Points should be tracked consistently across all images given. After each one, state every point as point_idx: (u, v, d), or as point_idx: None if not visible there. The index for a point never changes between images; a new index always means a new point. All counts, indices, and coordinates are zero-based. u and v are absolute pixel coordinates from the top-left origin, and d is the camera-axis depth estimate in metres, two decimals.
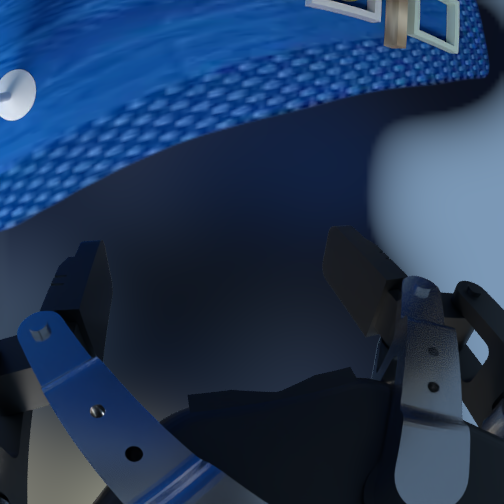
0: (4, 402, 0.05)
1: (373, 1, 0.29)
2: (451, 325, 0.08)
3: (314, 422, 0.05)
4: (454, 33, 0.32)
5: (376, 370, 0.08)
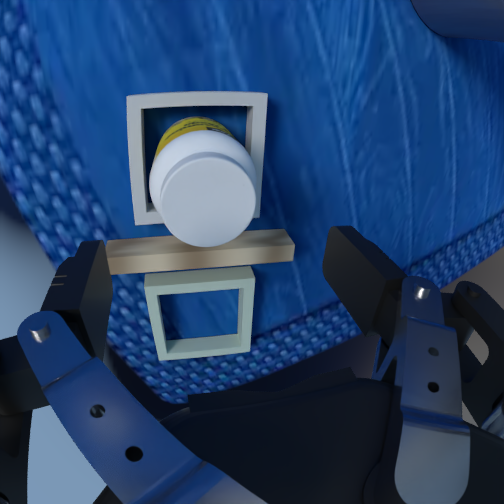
0: (4, 402, 0.05)
1: None
2: (451, 325, 0.08)
3: (314, 422, 0.05)
4: (189, 351, 0.32)
5: (376, 370, 0.08)
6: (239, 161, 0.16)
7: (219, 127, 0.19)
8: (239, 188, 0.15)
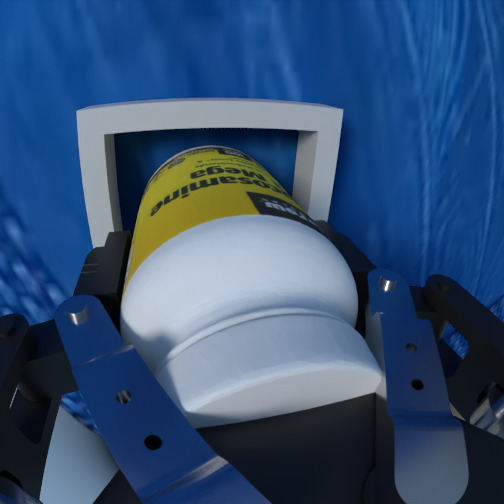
0: (32, 388, 0.06)
1: None
2: None
3: (314, 422, 0.05)
4: None
5: None
6: (339, 300, 0.07)
7: (269, 185, 0.09)
8: None
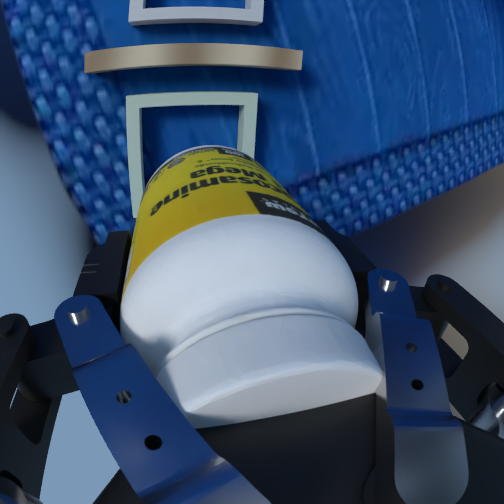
0: (33, 388, 0.06)
1: (167, 8, 0.18)
2: None
3: (314, 422, 0.05)
4: None
5: None
6: (339, 299, 0.07)
7: (269, 184, 0.09)
8: None
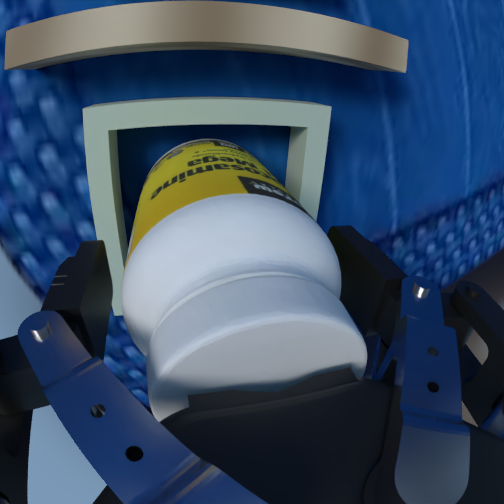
0: (4, 402, 0.05)
1: None
2: (451, 325, 0.08)
3: (314, 422, 0.05)
4: None
5: (376, 370, 0.08)
6: (321, 271, 0.07)
7: (259, 171, 0.10)
8: (338, 363, 0.06)
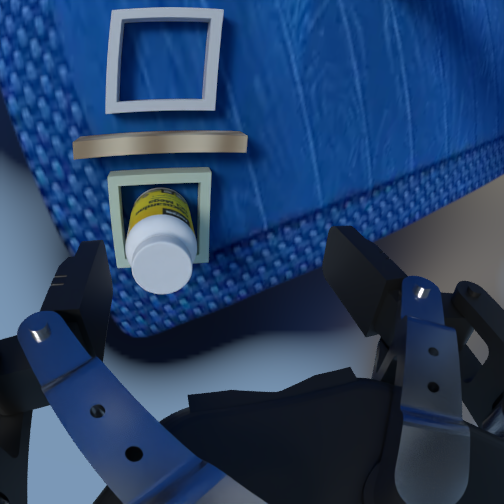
0: (4, 402, 0.05)
1: (137, 100, 0.25)
2: (451, 325, 0.08)
3: (314, 422, 0.05)
4: None
5: (376, 370, 0.08)
6: (183, 237, 0.25)
7: (173, 205, 0.27)
8: (180, 259, 0.23)
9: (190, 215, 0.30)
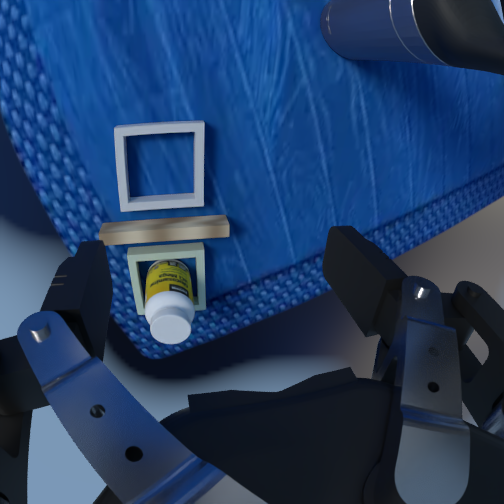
0: (4, 402, 0.05)
1: (143, 200, 0.36)
2: (451, 325, 0.08)
3: (314, 422, 0.05)
4: None
5: (376, 370, 0.08)
6: (184, 306, 0.36)
7: (176, 279, 0.38)
8: (182, 324, 0.34)
9: (190, 281, 0.41)
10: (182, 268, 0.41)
